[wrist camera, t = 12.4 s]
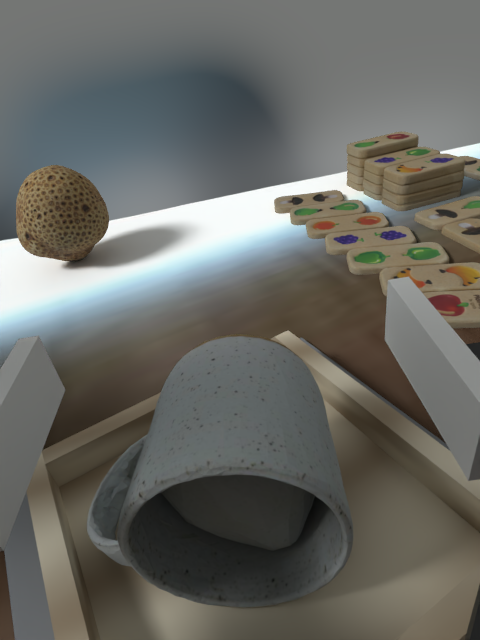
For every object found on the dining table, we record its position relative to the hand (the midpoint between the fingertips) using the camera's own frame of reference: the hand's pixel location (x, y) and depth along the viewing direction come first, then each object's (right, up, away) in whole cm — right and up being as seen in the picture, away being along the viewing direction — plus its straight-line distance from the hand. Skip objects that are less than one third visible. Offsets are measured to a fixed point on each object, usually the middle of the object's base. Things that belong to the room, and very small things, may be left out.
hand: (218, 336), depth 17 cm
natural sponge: (-16, +7, +31) cm, 36 cm away
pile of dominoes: (+22, +10, +26) cm, 36 cm away
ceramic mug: (0, -8, +3) cm, 9 cm away
